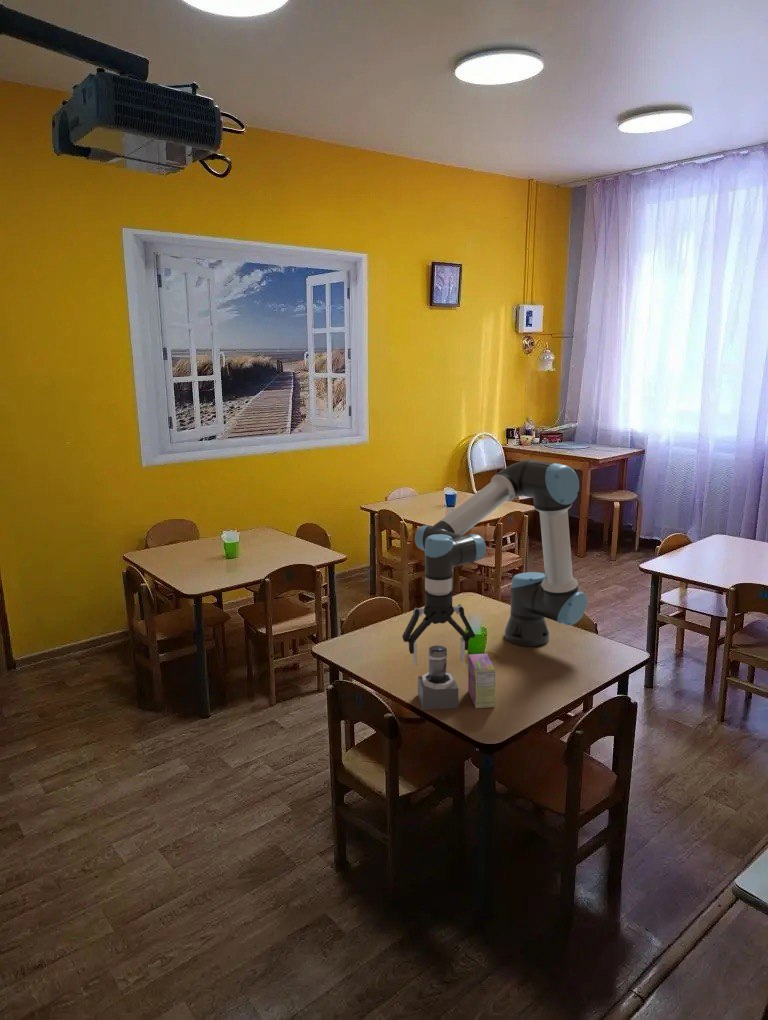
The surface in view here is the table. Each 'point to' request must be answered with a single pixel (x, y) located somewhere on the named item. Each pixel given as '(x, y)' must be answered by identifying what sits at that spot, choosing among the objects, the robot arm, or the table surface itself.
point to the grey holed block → (437, 693)
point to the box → (481, 680)
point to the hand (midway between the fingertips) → (438, 662)
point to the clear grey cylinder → (437, 664)
